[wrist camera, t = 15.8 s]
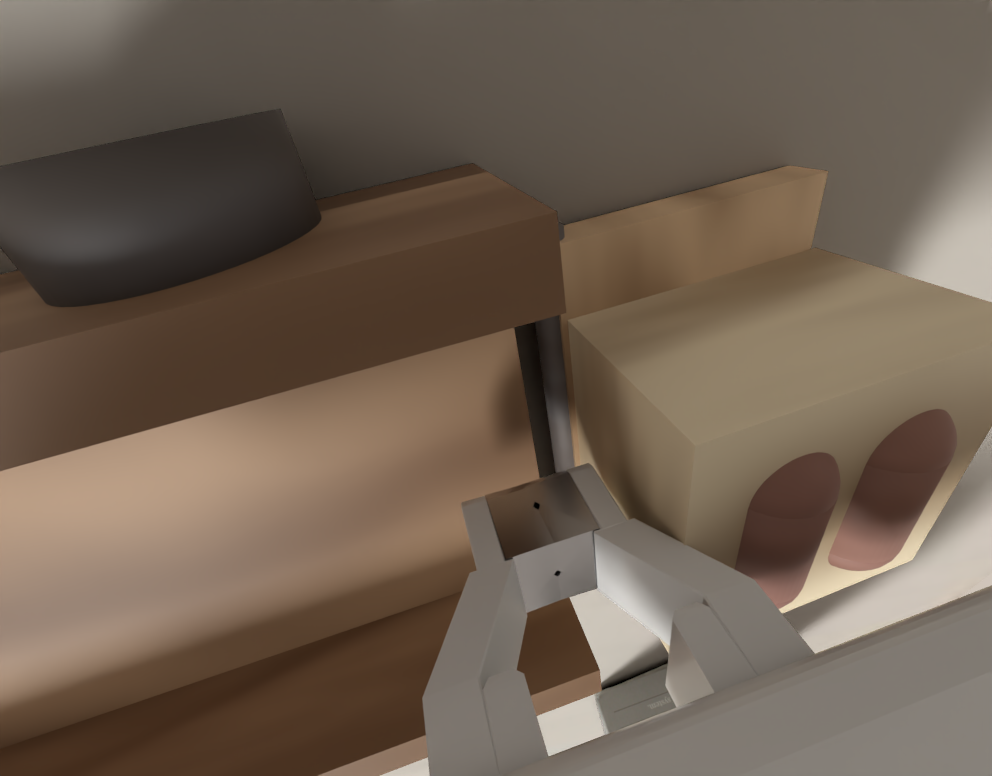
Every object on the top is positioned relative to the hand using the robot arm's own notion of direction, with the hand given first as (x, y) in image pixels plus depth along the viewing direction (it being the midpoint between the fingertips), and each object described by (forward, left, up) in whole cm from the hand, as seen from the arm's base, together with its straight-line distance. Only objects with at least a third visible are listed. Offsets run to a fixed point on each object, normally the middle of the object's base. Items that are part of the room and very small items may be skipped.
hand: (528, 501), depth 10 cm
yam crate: (0, +5, -2) cm, 5 cm away
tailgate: (0, +2, -2) cm, 3 cm away
